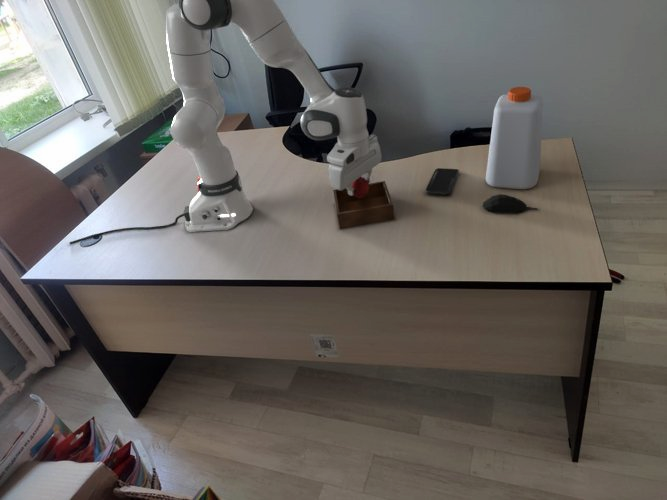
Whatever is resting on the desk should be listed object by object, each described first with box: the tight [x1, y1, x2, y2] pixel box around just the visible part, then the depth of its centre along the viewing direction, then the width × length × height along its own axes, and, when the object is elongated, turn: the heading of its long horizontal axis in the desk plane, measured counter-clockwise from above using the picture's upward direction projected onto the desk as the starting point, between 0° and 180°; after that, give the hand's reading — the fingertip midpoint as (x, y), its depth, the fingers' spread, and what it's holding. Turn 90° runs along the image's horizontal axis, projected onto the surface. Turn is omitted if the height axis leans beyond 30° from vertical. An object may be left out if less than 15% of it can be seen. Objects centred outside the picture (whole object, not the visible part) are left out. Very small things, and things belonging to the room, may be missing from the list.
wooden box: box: [332, 180, 396, 230], centre depth 146 cm, size 17×15×5 cm
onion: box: [351, 176, 370, 198], centre depth 142 cm, size 6×6×8 cm
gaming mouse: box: [482, 193, 538, 214], centre depth 136 cm, size 6×15×4 cm, turn 71°
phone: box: [425, 167, 460, 197], centre depth 153 cm, size 8×1×15 cm
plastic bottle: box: [485, 86, 544, 190], centre depth 141 cm, size 15×15×28 cm
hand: (359, 188), depth 143 cm, fingers closed on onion, 6 cm apart
